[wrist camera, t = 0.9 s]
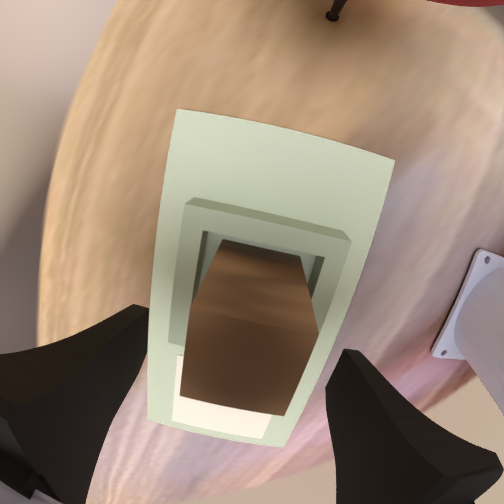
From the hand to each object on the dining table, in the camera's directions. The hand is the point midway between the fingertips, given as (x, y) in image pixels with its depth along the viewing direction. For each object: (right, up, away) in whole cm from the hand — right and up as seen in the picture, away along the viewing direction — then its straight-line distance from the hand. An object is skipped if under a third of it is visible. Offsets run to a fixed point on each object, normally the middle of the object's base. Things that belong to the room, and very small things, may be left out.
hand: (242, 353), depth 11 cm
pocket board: (0, -1, +7) cm, 7 cm away
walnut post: (0, +2, +6) cm, 6 cm away
